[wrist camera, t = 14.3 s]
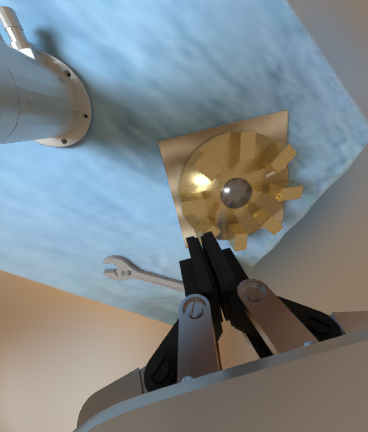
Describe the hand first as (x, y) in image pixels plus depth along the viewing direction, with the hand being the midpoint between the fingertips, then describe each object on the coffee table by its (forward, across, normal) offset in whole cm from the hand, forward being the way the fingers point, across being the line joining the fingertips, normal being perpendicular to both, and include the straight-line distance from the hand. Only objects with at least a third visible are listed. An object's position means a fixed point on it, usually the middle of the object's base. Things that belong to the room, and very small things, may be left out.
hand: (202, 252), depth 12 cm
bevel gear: (+25, -11, +7) cm, 29 cm away
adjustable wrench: (+28, +12, +26) cm, 40 cm away
